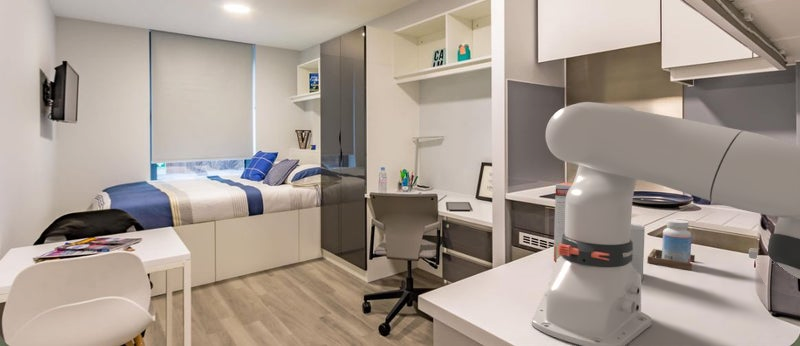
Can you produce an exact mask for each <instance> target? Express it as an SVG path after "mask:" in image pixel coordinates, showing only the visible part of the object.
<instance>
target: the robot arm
mask: <svg viewBox="0 0 800 346" xmlns="http://www.w3.org/2000/svg"><path fill="white" fill-rule="evenodd" d="M545 142H546V145H547V146H546V147H548V150H549V151H550V153H551V154H552V155H553V156H554V157H555V158H557V159H558V160H561V161H563V162H565V163H570V164H572V165H576V166H578V167H577V170H576V173H575V177H574V180H573V182H572V183H573V184H572V186H571V187H570V189H569V190H568V192H567V195H566V204H565V233H564V234H563V235H562V240H561V244H559V247H558V253H559V255H561V257H559V258H558V259H557V260H556V261H555V262H556V264H555V266H554V269H553V272H552V274H551V278H550V281H549V283H548V286H547V287H548V288H547V290H546V291H545V292H544V293H543V295H542V297H541V299H540V302H539V303H538V306H537V307H536V310H535V312H534V314H533V316H532V319H531V326H532V327H534V328H535V329H537V330H538V331H540V332H542V333H544V334H546V335H549V336H551V337H554V338H557V339H559V340H561V341H565V342H567V343H568V342H569V343H571V344H575V345H579V346H626V345H628V344H629V343H630V342H632V340H634V339H636V338H637V337H638V336H639V335H641V334H642V333H643V332H644V331H645V330H646V329H648V328H649V327H650V326H652V324H653V323H652V316H649V315H648V314H646V313H644V312H643V311H642V281H641V275H640V274H639V273H638V272H637V271H636V270H635V269H634V267H633V266H632V264H631V261H632V256H633V242H632V240H631V239H630V233H631V224H632V213H633V200H634V199H633V198H634V193H635V189H636V185H637V180H638V181H641V182H643V181H644V182H646V183H647V182H648V183H650V184H651V183H652V184H655V185H659V186H661V187H666V188H668V189H671V190H675V191H679V192H682V193H685V194H687V195H691V196H693V197H696V198H700V199H704V200H706V201H710V202H713V203H717V204H719V205H723V206H726V207H730V208H734V209H738V210H742V211H746V212H751V213H756V214H759V215H766V216H770V217H778V219H777V224H776V226H775V229H774V233H771V234H770V235H769V239H768V244H767V249H768V255H769V257H770V258H771V259H772V261H773V262H774V263H773V264H775V263H776V264H778V265H779V266H780V267H782V268H783V269H784V270H785V271H787V272H788V273H790V274H791V275H793V276H795V277H797V279H799V280H800V145H799V144H796V143H792V142H790V141H786V140H783V139H779V138H776V137H772V136H769V135H765V134H761V133H756V132H751V131H747V130H741V129H738V128H737V129H736V128H732V127H727V126H722V125H716V124H712V123H707V122H706V123H705V122H702V121H696V120H692V119H687V118H682V117H676V116H675V117H674V116H669V115H663V114H657V113H653V112H646V111H640V110H637V109H635V108H632V107H630V106H627V105H623V104H610V103H602V102H594V101H593V102H591V101H584V102H577V103H575V104H571V105H568V106H565V107H562V108H560V109H559V110H557V111H556V112H555V113H554V114H553V115H552V116H551V117H550V119H549V120H548V122H547V125H546V128H545ZM758 249H759V248H752V247H751V248H749V249H748V257H749V259H752V260H753V259H754V260H757V259H756V258H757V255H758ZM776 264H775V265H776Z"/></svg>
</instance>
